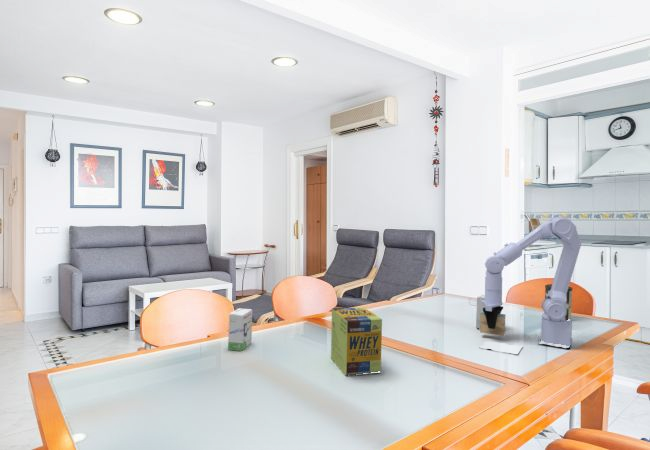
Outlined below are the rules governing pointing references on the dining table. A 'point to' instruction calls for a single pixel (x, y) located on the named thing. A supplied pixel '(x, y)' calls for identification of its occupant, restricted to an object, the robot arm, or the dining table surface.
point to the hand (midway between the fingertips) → (492, 327)
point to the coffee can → (568, 303)
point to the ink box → (240, 329)
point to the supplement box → (479, 309)
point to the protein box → (356, 340)
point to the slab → (498, 328)
